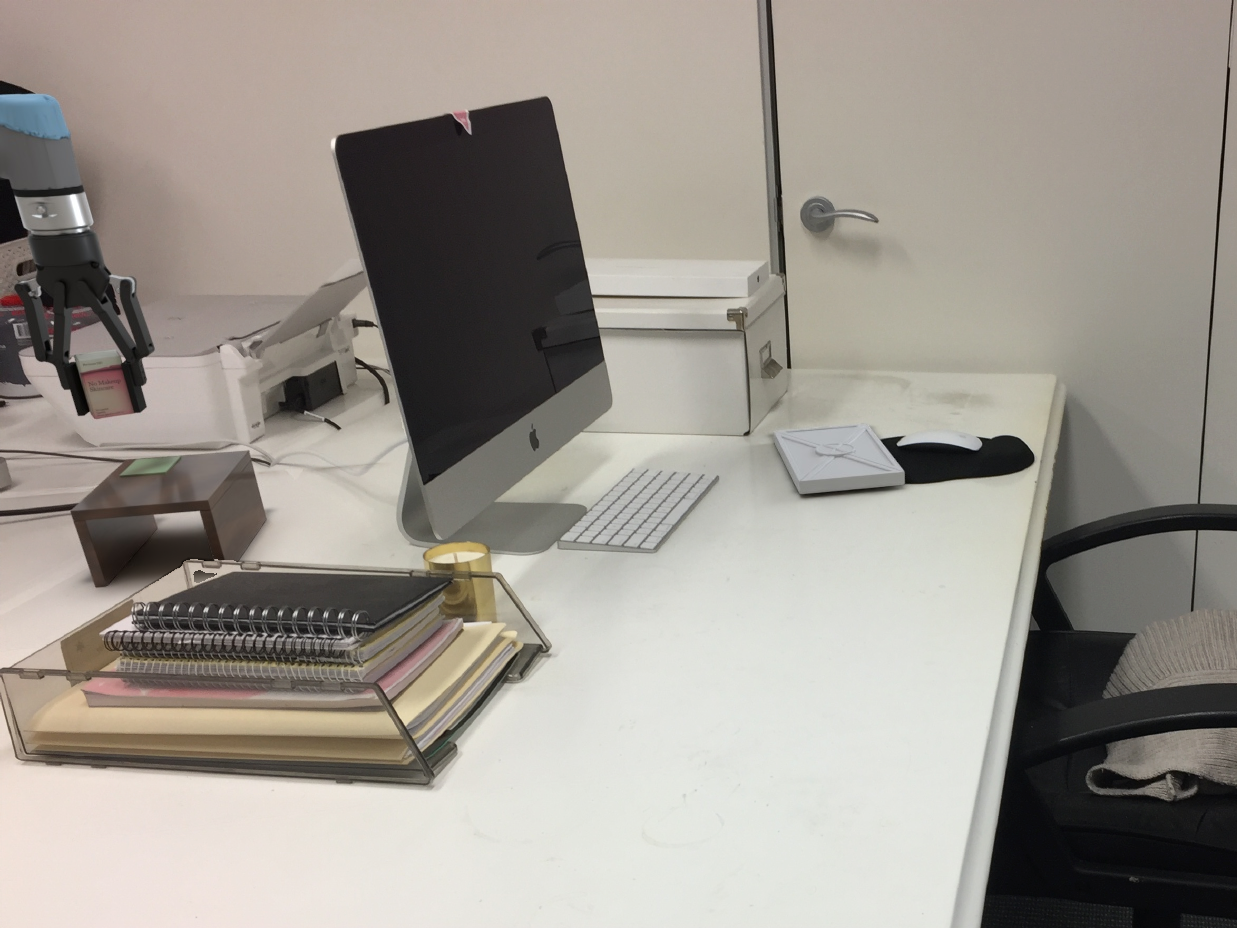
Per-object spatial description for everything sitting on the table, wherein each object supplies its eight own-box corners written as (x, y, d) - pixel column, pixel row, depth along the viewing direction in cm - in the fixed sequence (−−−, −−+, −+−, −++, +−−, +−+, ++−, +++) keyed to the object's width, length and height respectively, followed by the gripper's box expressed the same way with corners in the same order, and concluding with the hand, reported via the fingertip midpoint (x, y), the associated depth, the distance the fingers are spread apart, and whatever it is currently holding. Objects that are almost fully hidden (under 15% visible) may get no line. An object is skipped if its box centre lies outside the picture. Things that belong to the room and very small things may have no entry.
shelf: (95, 587, 137) (69, 509, 133) (147, 529, 153) (125, 457, 149) (228, 575, 139) (207, 498, 135) (266, 519, 155) (248, 448, 151)
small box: (94, 420, 161) (76, 360, 158) (89, 413, 164) (72, 353, 161) (137, 414, 164) (120, 354, 160) (132, 406, 167) (116, 348, 163)
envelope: (867, 436, 181) (774, 444, 178) (866, 421, 180) (773, 429, 177) (904, 486, 159) (799, 496, 157) (904, 469, 158) (798, 479, 156)
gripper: (-38, 237, 149) (22, 424, 159) (133, 232, 152) (181, 415, 162) (-11, 228, 155) (45, 407, 166) (153, 223, 158) (197, 399, 169)
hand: (112, 411), depth 164 cm, fingers closed on small box, 6 cm apart
